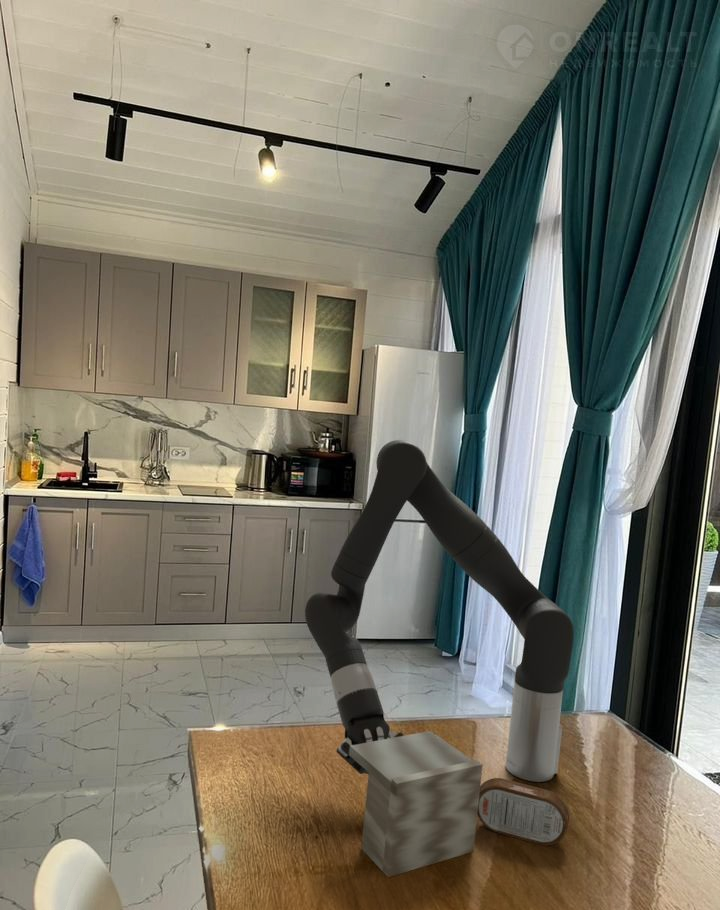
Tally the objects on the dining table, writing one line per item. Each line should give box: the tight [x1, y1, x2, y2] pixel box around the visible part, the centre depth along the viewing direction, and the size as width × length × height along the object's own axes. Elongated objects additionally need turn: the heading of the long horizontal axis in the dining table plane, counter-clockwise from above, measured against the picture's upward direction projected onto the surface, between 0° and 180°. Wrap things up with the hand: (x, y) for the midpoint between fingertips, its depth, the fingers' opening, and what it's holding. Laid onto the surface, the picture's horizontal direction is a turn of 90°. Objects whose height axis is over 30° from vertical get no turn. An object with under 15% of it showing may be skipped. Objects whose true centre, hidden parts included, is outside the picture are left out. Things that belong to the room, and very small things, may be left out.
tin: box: [477, 777, 570, 846], centre depth 119 cm, size 15×3×8 cm, turn 71°
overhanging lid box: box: [349, 730, 484, 878], centre depth 115 cm, size 16×14×14 cm
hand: (386, 795), depth 120 cm, fingers closed
